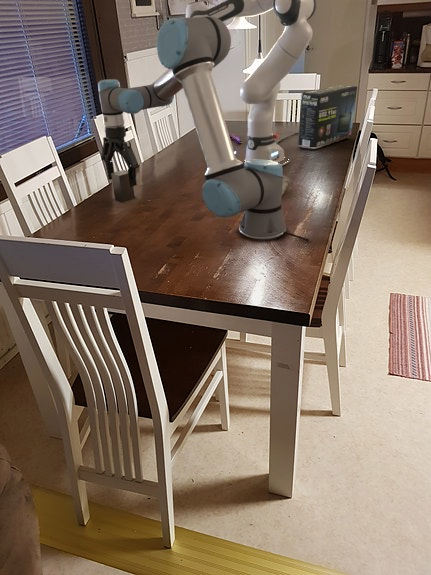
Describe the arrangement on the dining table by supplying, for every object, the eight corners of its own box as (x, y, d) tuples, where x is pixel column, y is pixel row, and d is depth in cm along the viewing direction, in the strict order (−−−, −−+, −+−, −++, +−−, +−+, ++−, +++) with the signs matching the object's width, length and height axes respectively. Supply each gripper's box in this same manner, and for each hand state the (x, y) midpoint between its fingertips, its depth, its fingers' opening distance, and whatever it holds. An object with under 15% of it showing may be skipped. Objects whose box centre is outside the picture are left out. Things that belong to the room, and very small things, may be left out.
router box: (314, 151, 231) (318, 94, 217) (296, 148, 237) (299, 92, 224) (352, 138, 251) (358, 85, 238) (335, 135, 258) (340, 83, 245)
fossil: (280, 191, 170) (252, 165, 174) (264, 213, 177) (237, 187, 180) (300, 185, 184) (274, 161, 187) (284, 206, 191) (259, 182, 194)
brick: (115, 198, 182) (111, 173, 177) (126, 194, 186) (123, 169, 180) (122, 201, 179) (119, 175, 174) (134, 197, 183) (131, 171, 177)
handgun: (221, 137, 264) (220, 133, 263) (234, 136, 265) (233, 132, 264) (228, 145, 247) (228, 142, 246) (242, 144, 248) (242, 140, 247)
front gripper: (86, 123, 173) (95, 178, 184) (127, 132, 158) (135, 191, 169) (102, 120, 178) (110, 173, 189) (144, 128, 163) (150, 186, 174)
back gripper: (175, 43, 210) (177, 76, 217) (208, 45, 198) (209, 80, 206) (184, 42, 214) (186, 75, 221) (218, 44, 202) (218, 78, 210)
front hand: (122, 182), depth 179 cm, fingers open, 13 cm apart
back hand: (197, 77), depth 213 cm, fingers open, 8 cm apart
